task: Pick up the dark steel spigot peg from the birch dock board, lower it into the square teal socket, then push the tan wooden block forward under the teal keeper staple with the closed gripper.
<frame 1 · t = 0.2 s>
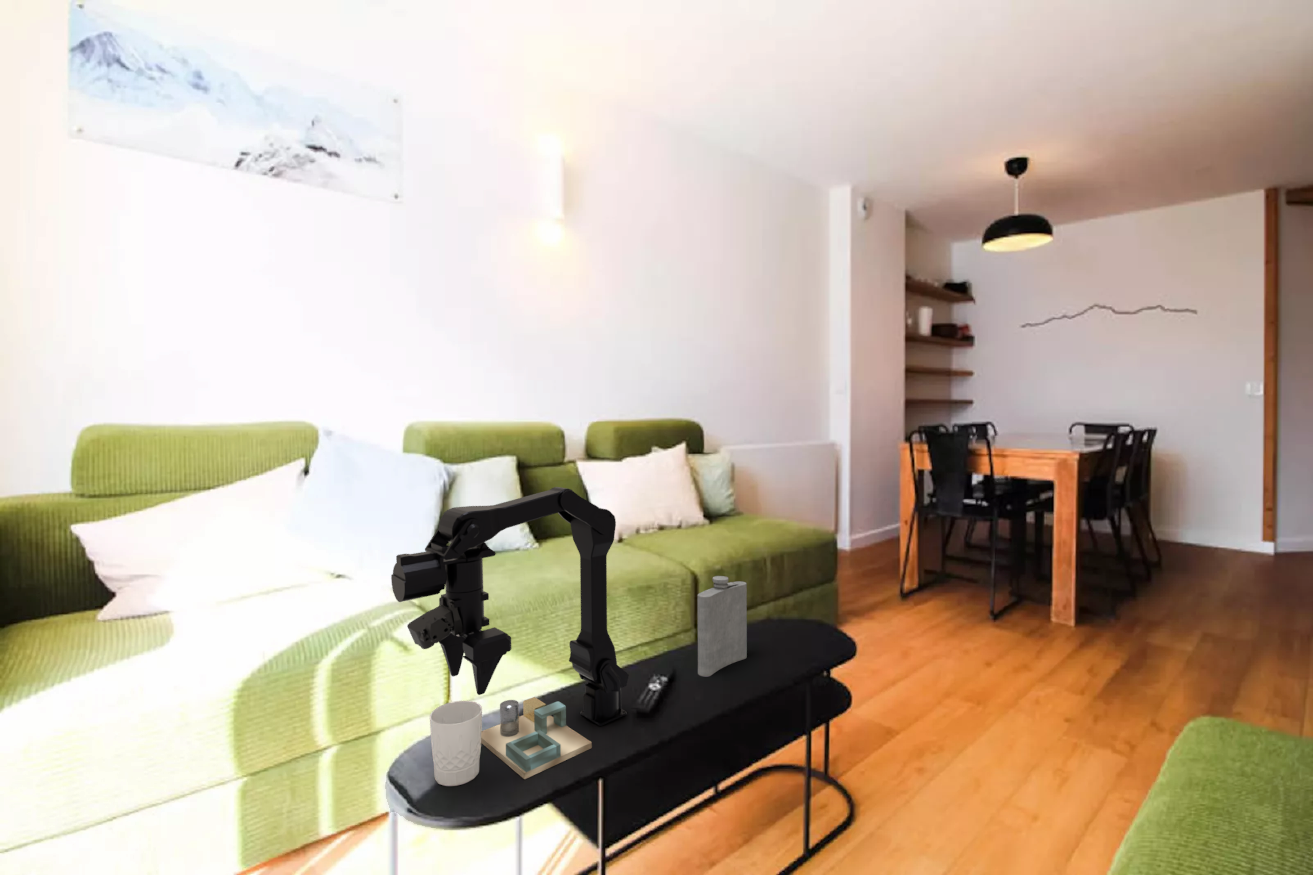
hand: (467, 684, 96), 14 cm above the table, fingers open, 9 cm apart
spigot peg: (509, 732, 106), point 1 cm above the table, touching dock board
dock board: (533, 743, 104), on the table
white cup: (457, 775, 95), on the table
tan wooden block: (534, 709, 111), point 2 cm above the table, slide at 0.0 cm
hip flask: (721, 665, 137), on the table
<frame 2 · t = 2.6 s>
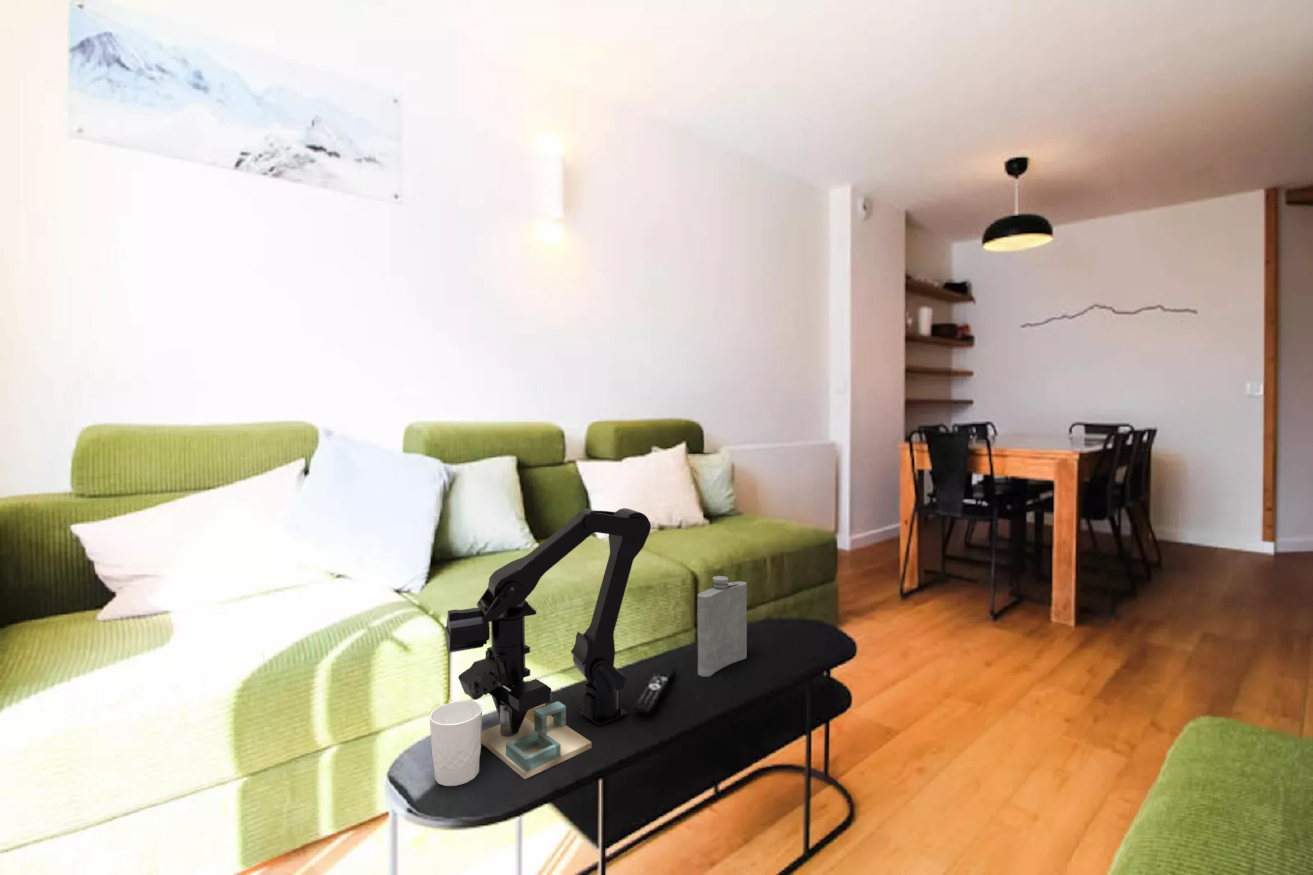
hand: (509, 729, 106), 2 cm above the table, fingers closed on spigot peg, 3 cm apart
spigot peg: (509, 732, 106), point 1 cm above the table, touching dock board, gripper
everything else where it was.
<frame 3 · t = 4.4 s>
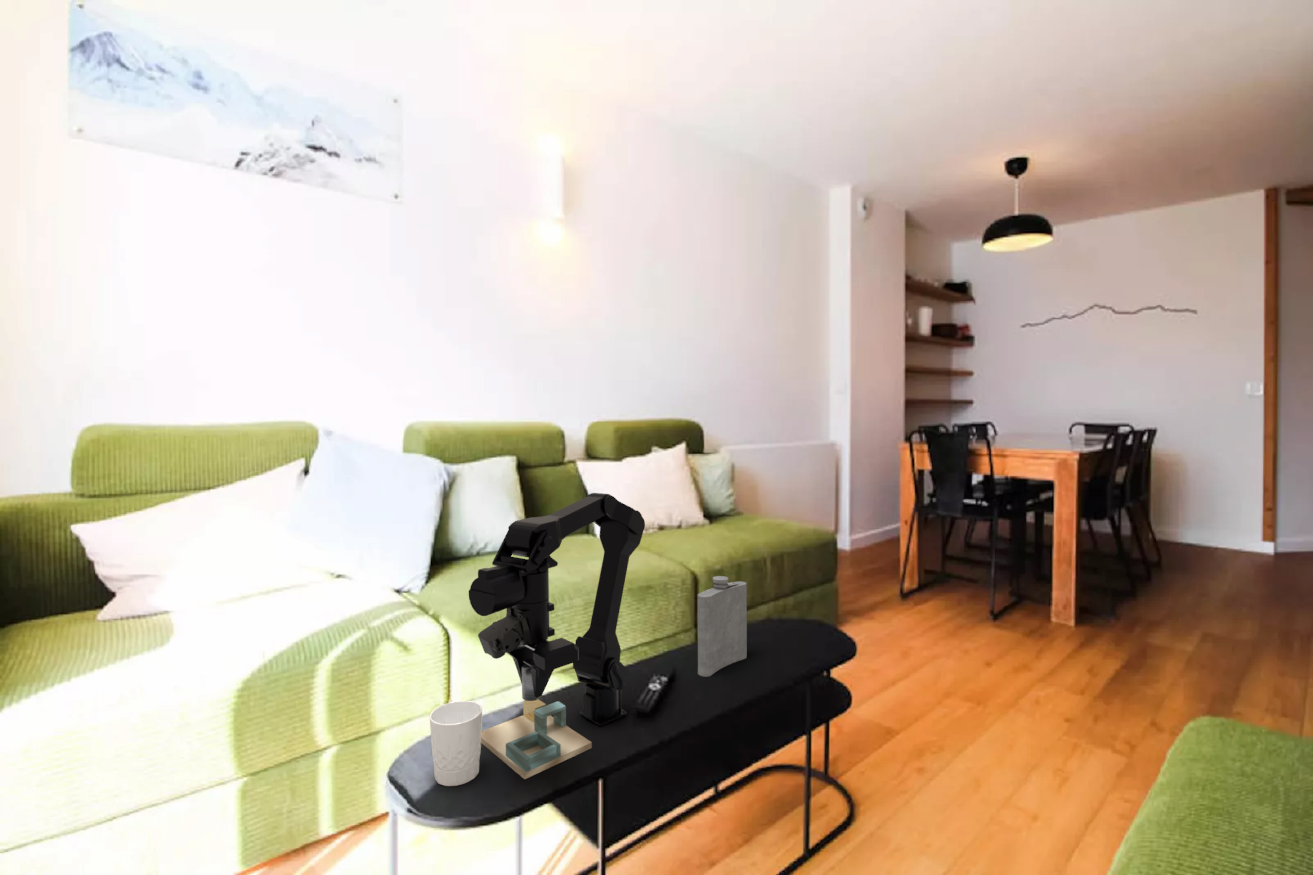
hand: (532, 693, 98), 11 cm above the table, fingers closed on spigot peg, 3 cm apart
spigot peg: (532, 696, 98), point 11 cm above the table, touching gripper
everything else where it was.
when the fingers open (3 cm above the table, at t = 6.4 s): spigot peg drops 2 cm, resting on dock board.
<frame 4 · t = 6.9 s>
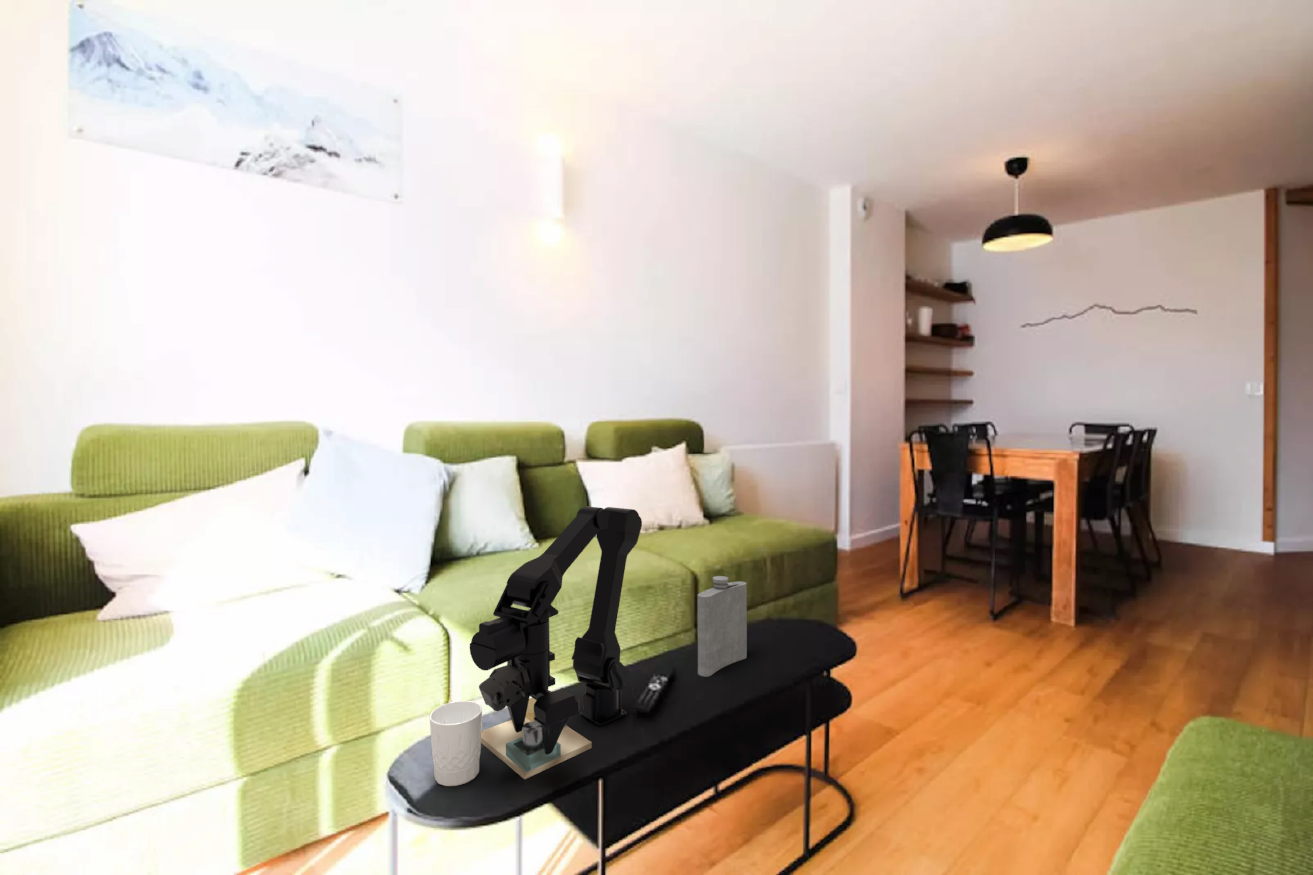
hand: (533, 742, 98), 3 cm above the table, fingers open, 9 cm apart
spigot peg: (532, 756, 99), point 1 cm above the table, touching dock board
everything else where it was.
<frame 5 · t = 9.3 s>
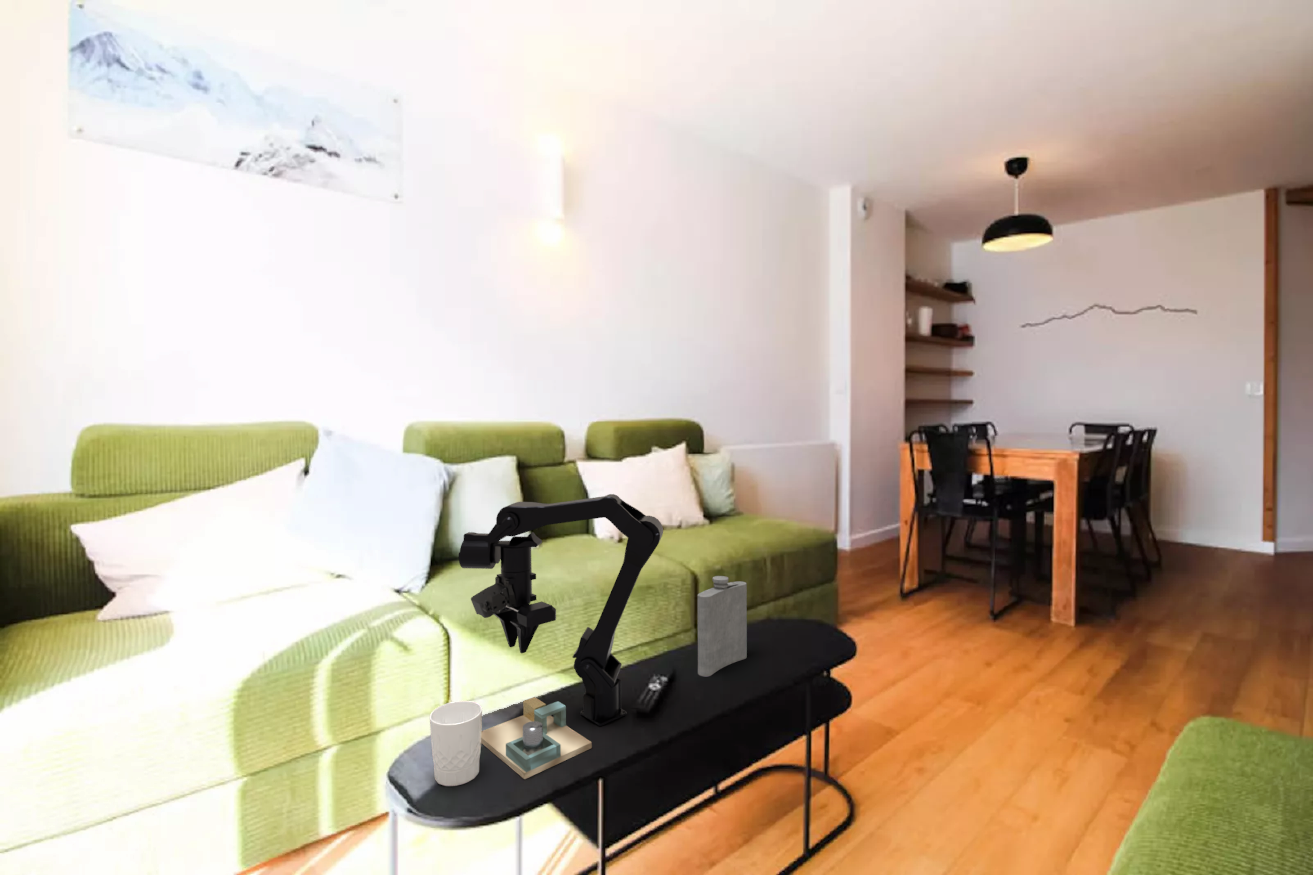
hand: (517, 649, 115), 12 cm above the table, fingers open, 4 cm apart
nothing on the table moved.
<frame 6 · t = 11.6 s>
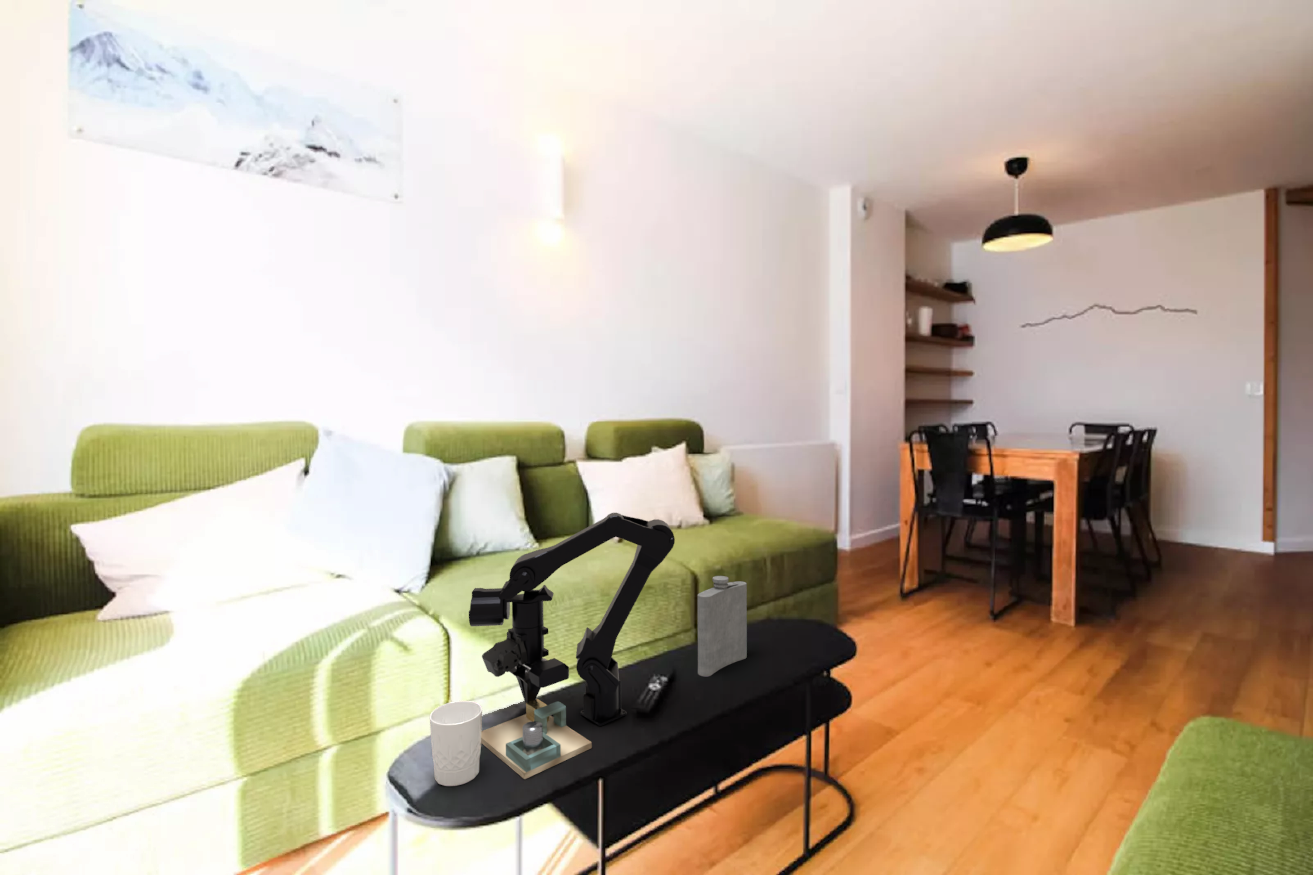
hand: (529, 705, 113), 2 cm above the table, fingers closed
tan wooden block: (537, 711, 111), point 2 cm above the table, slide at 1.0 cm, touching gripper
everything else where it was.
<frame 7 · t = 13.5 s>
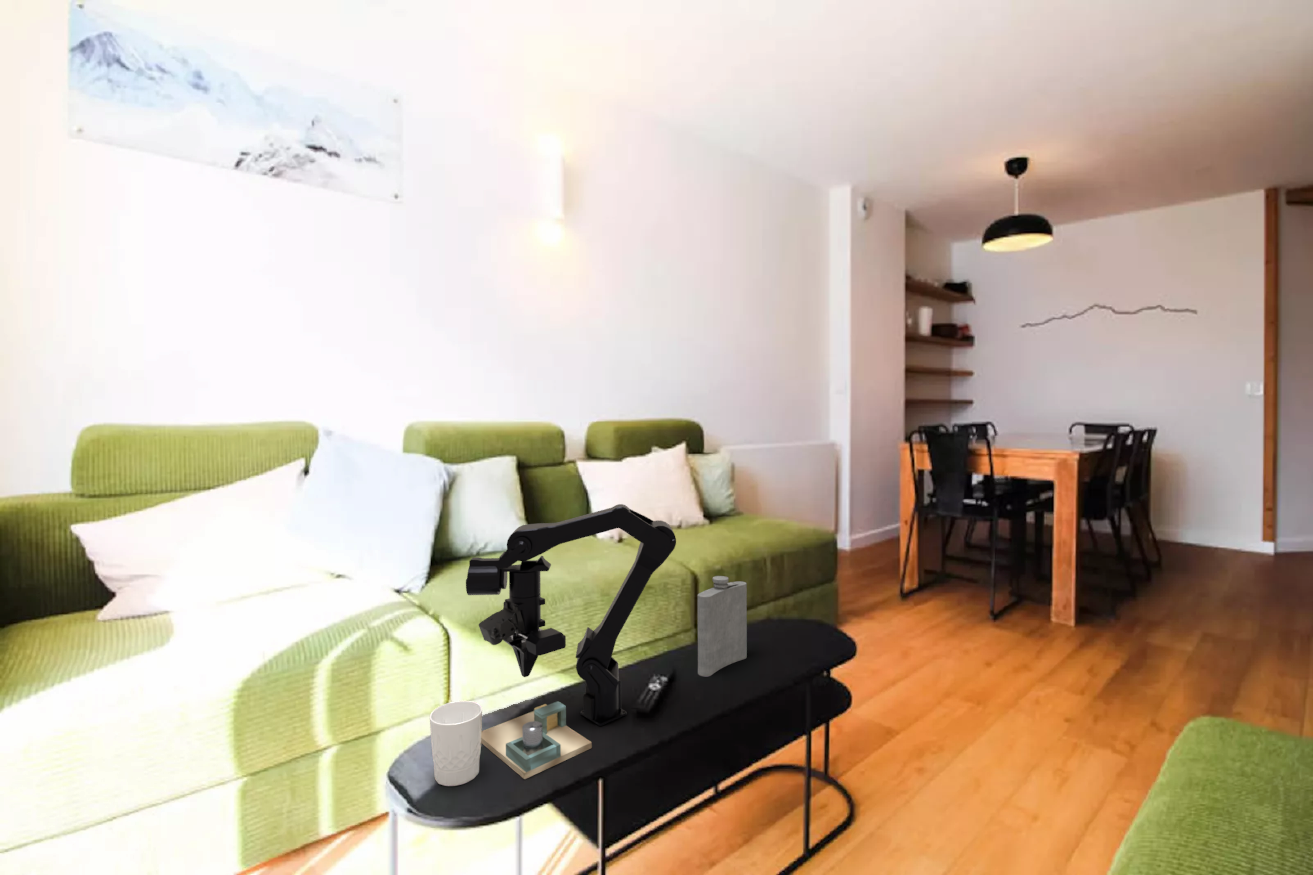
hand: (525, 676, 113), 8 cm above the table, fingers closed
tan wooden block: (545, 717, 109), point 2 cm above the table, slide at 3.8 cm
everything else where it was.
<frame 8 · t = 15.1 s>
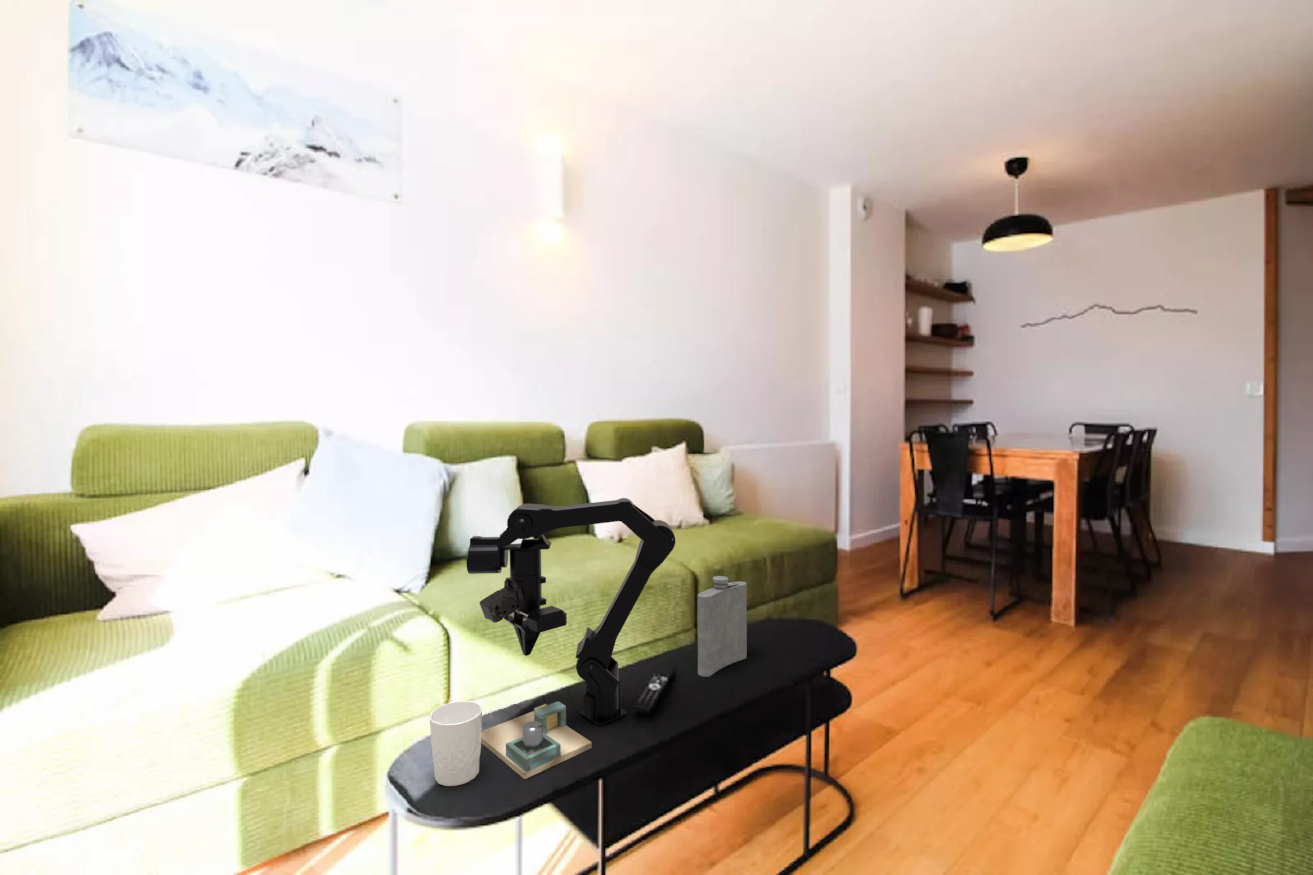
hand: (526, 654, 113), 12 cm above the table, fingers closed
nothing on the table moved.
at the end: spigot peg 0.1 cm from the target spot, point 1.0 cm above the table; spigot peg tilted 0°; tan wooden block slide at 3.8 cm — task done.
